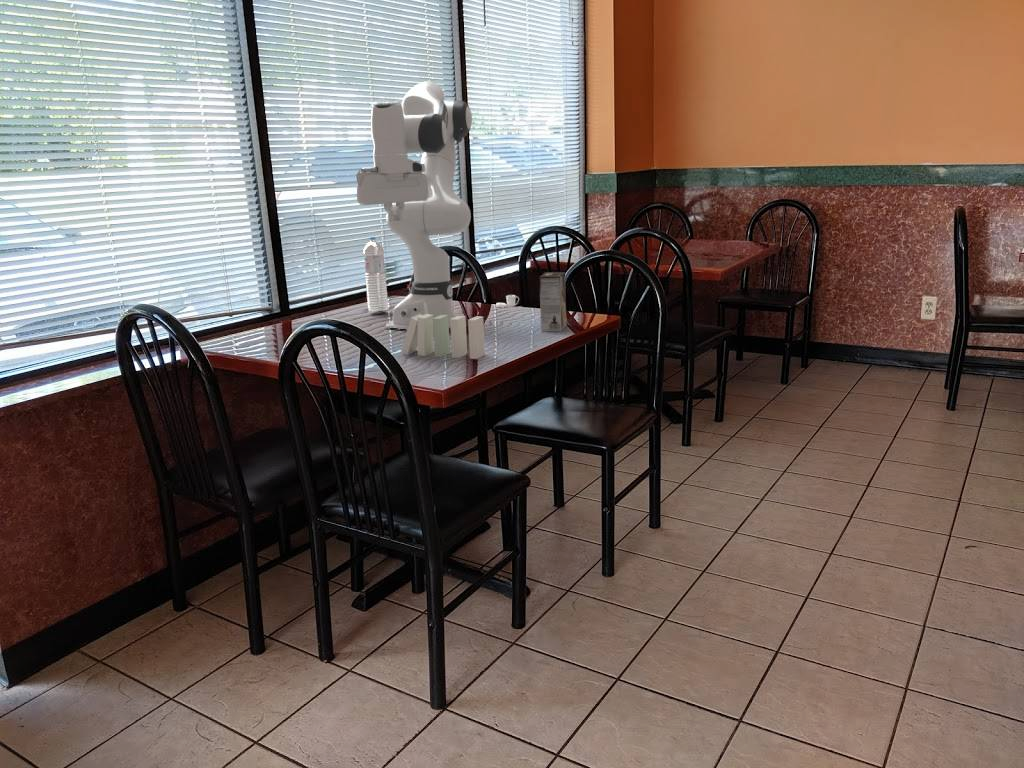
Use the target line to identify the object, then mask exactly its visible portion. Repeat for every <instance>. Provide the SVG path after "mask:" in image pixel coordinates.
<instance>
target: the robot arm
mask: <svg viewBox="0 0 1024 768" xmlns="http://www.w3.org/2000/svg"><path fill="white" fill-rule="evenodd" d="M370 115H371V119H370V120H371V121H370V123H371V124H370V127H371V128H370V129H371V139H372V142H373V152H372V156H373V167H362V168H360V169H359V170H358V171H357V173H356V182H357V183H356V184H357V185H356V186H357V187H356V201H357V203H358V204H359V205H360V206H370V205H373V206H374V205H383V208H384V210H385V212H386V214H385V219H386V221H385V222H386V224H387V226H388V228H389V229H390V231H391V232H392V233H393V234H395V235H396V236H397V237H399V238H400V239H401V240H402V242H403V243H404V244H405V246H406V247H407V249H408V252H409V254H410V257H411V263H412V269H413V272H412V273H413V281H412V282H411V283H409V284H406V286H407V287H406V289H408V290H409V294H408V295H406V296H405V297H404V298H403V299H402V300H401V301H399V302H398V303H397V304H396V305H395V306H394V308H393V311H392V320H391V321H389V322H387V323H386V324H385V327H386V326H388V327H397V328H403V329H408V326H409V323H410V319H411V317H414V316H416V315H419V314H421V315H425V314H430V315H433V318H435V317H438V316H440V315H448V323H449V329H451V326H450V319H452V318H454V317H456V314H455V309H454V304H453V284H452V283H453V282H452V279H451V273H450V271H451V269H450V258H449V254H448V253H447V252H446V251H445V250H444V249H443V248H441V247H439V246H437V245H435V244H433V242H432V241H431V239H430V237H429V236H450V235H456V234H459V233H462V232H463V233H464V232H465V231H466V230H467V228H468V227H469V226H470V223H471V218H472V216H471V215H472V214H471V209H470V206H469V205H468V203H467V202H466V201H465V200H464V199H461V197H459V196H458V195H457V194H456V193H455V191H454V179H455V178H454V177H455V173H456V172H455V171H456V165H457V164H456V163H457V162H456V161H457V158H456V157H457V155H456V154H457V153H456V147H455V144H456V142H457V144H460V143H461V142H462V140H463V138H465V137H466V136H468V133H470V130H471V127H472V123H473V115H472V111H471V108H470V106H469V104H468V103H467V102H465V101H463V100H457V99H456V100H445V94H444V90H443V89H442V87H441V86H440V85H439V84H438V83H436V82H434V81H429V80H426V81H422V82H419V83H417V84H415V85H414V86H413V87H411V88H410V89H409V90H408V91H407V92H406V94H405V95H404V96H403V99H402V102H399V101H396V100H385V101H379V102H376V103H374V104H373V105H372V108H371V114H370ZM414 153H415V154H418V153H421V158H420V162H418V161H415V160H412V159H410V158H409V156H408V154H414Z"/></svg>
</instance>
